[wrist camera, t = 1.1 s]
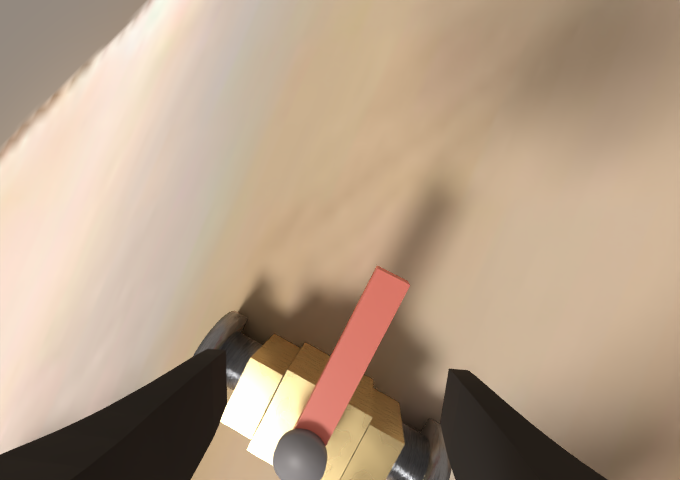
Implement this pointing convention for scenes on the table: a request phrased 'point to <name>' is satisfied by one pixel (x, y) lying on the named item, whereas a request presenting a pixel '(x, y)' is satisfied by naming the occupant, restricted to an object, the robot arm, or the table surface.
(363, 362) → the lever
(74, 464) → the robot arm
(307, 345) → the valve pipe
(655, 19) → the table surface
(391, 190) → the table surface
